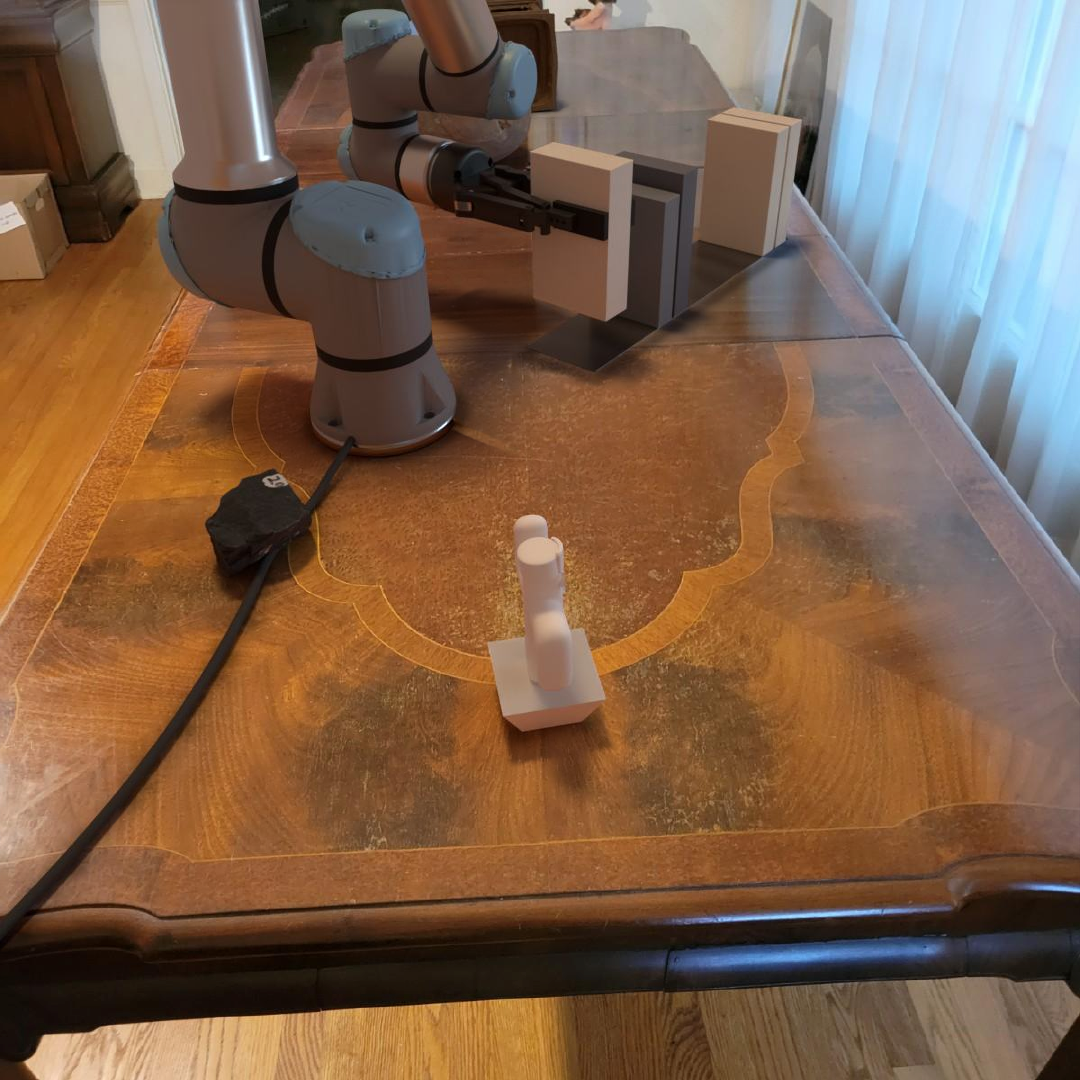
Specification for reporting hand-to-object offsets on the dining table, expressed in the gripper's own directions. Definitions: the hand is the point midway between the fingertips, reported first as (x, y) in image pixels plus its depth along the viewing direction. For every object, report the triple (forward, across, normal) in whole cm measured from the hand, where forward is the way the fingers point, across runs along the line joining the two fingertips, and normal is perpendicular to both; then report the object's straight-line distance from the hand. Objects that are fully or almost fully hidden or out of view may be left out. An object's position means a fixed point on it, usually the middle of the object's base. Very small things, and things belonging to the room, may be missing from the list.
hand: (619, 220), depth 100 cm
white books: (-5, -38, -16) cm, 42 cm away
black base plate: (-5, -20, -17) cm, 27 cm away
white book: (-5, 0, -10) cm, 12 cm away
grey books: (-5, -13, -16) cm, 21 cm away
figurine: (+24, +44, -18) cm, 53 cm away
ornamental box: (-85, -84, -16) cm, 120 cm away
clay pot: (-61, -44, -17) cm, 77 cm away
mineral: (-7, +44, -18) cm, 48 cm away
